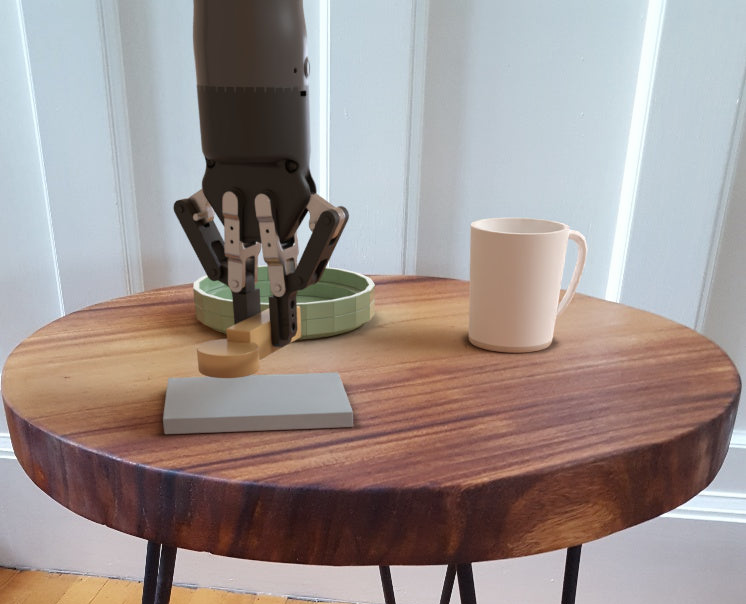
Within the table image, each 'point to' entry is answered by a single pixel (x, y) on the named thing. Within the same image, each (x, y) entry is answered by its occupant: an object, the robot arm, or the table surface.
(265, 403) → the board
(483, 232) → the mug
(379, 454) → the table surface
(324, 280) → the pan
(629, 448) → the table surface
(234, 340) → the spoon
